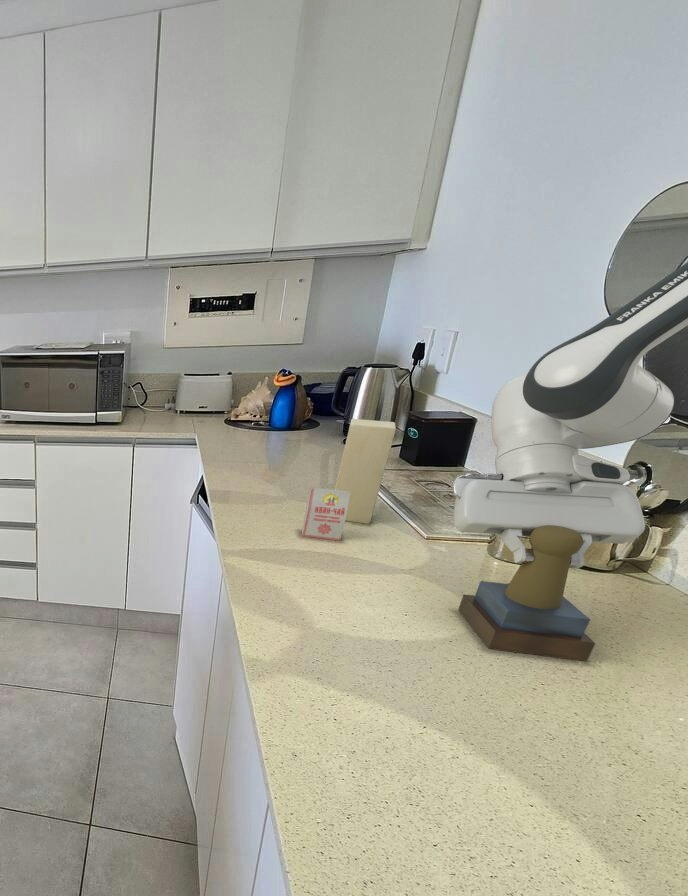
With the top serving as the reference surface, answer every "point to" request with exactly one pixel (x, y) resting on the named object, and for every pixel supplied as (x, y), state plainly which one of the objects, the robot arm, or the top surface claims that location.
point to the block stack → (526, 624)
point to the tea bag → (325, 514)
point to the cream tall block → (364, 466)
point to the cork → (545, 568)
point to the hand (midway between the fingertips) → (548, 564)
